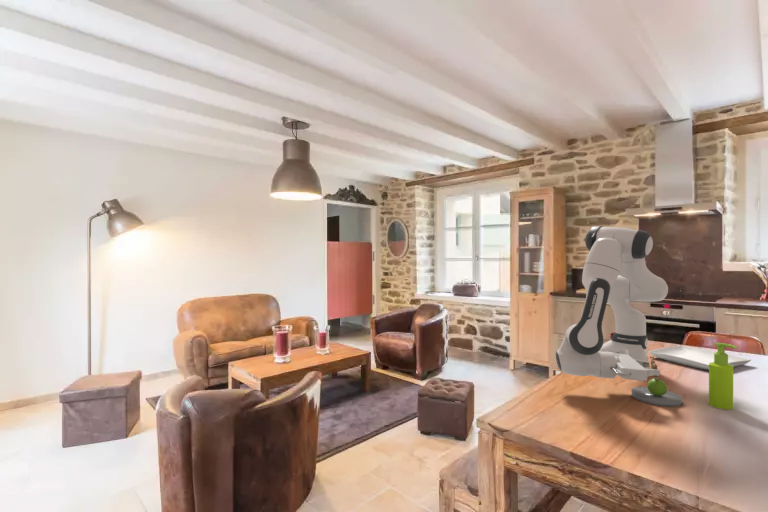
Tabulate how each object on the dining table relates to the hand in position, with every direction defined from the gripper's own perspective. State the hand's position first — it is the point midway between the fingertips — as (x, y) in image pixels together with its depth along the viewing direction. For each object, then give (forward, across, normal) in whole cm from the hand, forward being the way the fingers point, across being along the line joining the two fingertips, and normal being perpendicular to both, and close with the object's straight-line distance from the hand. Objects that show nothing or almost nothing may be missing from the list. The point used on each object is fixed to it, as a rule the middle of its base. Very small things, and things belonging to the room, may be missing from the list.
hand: (653, 368), depth 131 cm
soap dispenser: (+18, -2, +10) cm, 21 cm away
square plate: (+34, +56, +10) cm, 66 cm away
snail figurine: (+1, -2, +9) cm, 9 cm away
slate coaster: (+1, 0, +10) cm, 10 cm away
